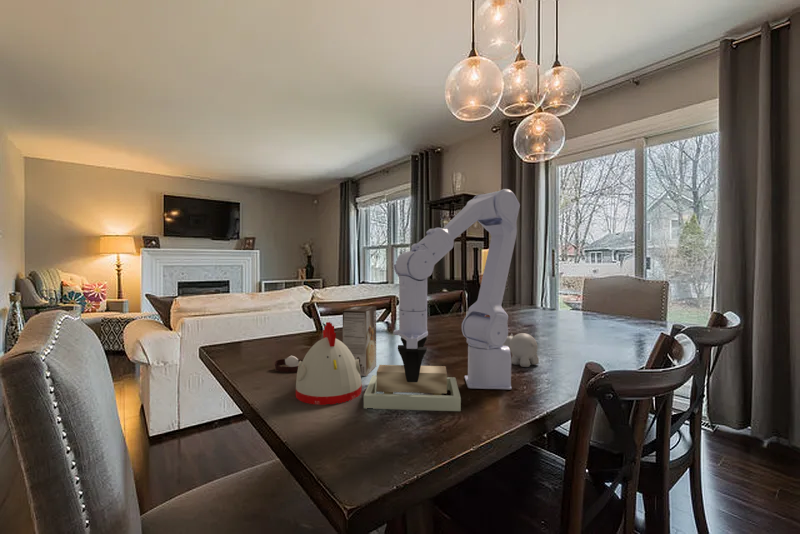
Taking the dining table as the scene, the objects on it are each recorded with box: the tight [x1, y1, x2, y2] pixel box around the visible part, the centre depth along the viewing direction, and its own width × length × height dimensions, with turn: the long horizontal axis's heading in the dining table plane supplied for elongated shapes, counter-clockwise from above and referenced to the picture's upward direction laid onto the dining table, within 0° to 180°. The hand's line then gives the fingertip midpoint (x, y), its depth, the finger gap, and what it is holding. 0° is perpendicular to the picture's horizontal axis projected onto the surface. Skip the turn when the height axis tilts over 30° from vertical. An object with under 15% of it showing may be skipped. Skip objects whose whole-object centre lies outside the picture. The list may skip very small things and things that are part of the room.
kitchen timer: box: [295, 321, 363, 406], centre depth 81 cm, size 14×14×15 cm
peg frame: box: [363, 374, 462, 412], centre depth 78 cm, size 18×12×2 cm
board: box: [376, 364, 448, 394], centre depth 78 cm, size 14×5×4 cm, turn 86°
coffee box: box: [342, 305, 377, 377], centre depth 97 cm, size 9×6×16 cm
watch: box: [274, 355, 303, 373], centre depth 97 cm, size 8×5×4 cm, turn 85°
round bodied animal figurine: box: [503, 332, 540, 368], centre depth 105 cm, size 7×12×8 cm, turn 30°
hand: (412, 375), depth 78 cm, fingers open, 7 cm apart
